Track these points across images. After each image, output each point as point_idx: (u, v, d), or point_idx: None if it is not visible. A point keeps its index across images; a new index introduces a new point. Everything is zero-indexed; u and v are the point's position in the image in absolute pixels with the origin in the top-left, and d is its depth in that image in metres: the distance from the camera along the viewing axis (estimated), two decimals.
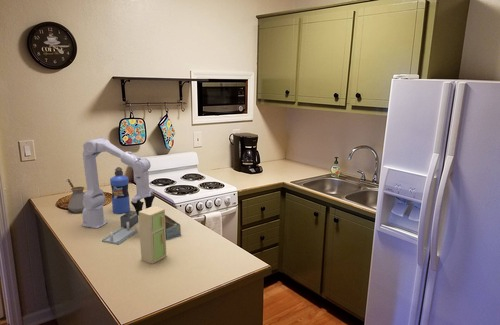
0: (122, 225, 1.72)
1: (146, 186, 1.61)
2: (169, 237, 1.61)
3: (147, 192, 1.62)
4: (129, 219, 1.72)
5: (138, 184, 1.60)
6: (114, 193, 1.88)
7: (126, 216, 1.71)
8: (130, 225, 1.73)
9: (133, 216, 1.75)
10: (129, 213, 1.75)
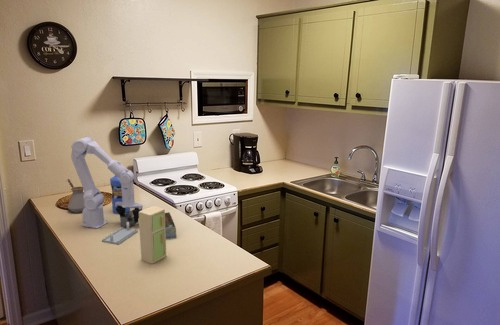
0: (122, 225, 1.72)
1: (123, 197, 1.70)
2: None
3: (124, 203, 1.71)
4: (129, 219, 1.72)
5: (125, 195, 1.69)
6: (114, 193, 1.88)
7: (126, 216, 1.71)
8: (130, 225, 1.73)
9: (133, 216, 1.75)
10: (129, 213, 1.75)
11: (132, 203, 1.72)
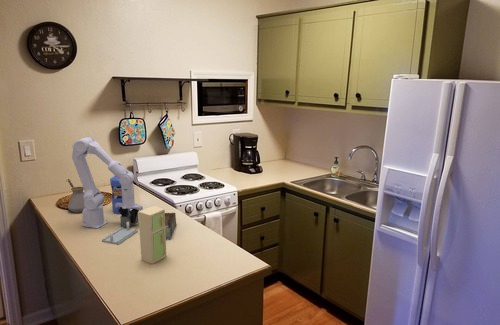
0: (122, 225, 1.72)
1: (123, 198, 1.70)
2: None
3: (124, 204, 1.71)
4: (129, 218, 1.72)
5: (125, 196, 1.69)
6: (114, 193, 1.88)
7: (126, 216, 1.71)
8: (130, 225, 1.73)
9: None
10: (129, 213, 1.75)
11: (132, 204, 1.72)
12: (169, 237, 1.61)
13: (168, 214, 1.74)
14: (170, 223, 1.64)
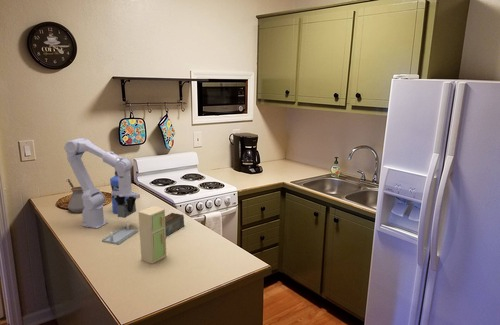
0: (119, 213, 1.67)
1: (119, 185, 1.65)
2: None
3: (120, 192, 1.66)
4: (126, 207, 1.67)
5: (121, 183, 1.65)
6: None
7: (123, 204, 1.66)
8: (127, 214, 1.68)
9: None
10: (126, 201, 1.70)
11: (129, 192, 1.67)
12: None
13: (175, 215, 1.73)
14: (165, 224, 1.63)
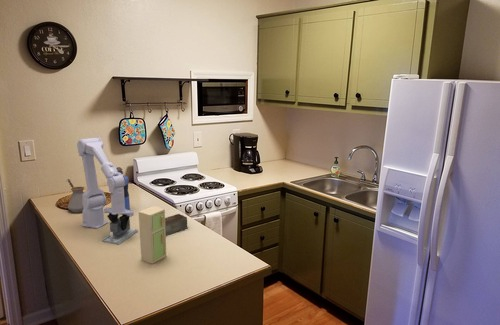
0: None
1: (112, 203, 1.56)
2: None
3: (113, 209, 1.57)
4: (120, 225, 1.58)
5: (111, 200, 1.56)
6: None
7: (116, 222, 1.58)
8: (120, 232, 1.59)
9: None
10: None
11: (122, 209, 1.58)
12: None
13: (178, 216, 1.72)
14: None
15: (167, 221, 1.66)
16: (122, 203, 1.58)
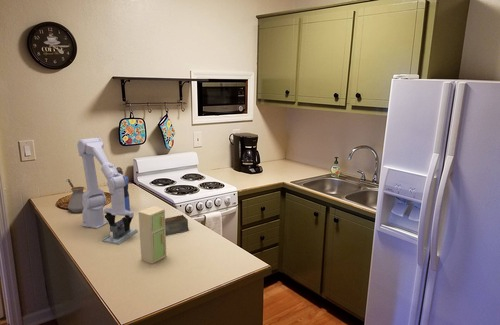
0: None
1: (112, 203, 1.57)
2: None
3: (113, 210, 1.57)
4: (120, 228, 1.59)
5: (111, 201, 1.57)
6: None
7: (116, 225, 1.58)
8: (121, 235, 1.60)
9: None
10: (120, 222, 1.62)
11: (122, 210, 1.58)
12: None
13: (179, 218, 1.70)
14: None
15: (166, 221, 1.66)
16: (122, 204, 1.58)
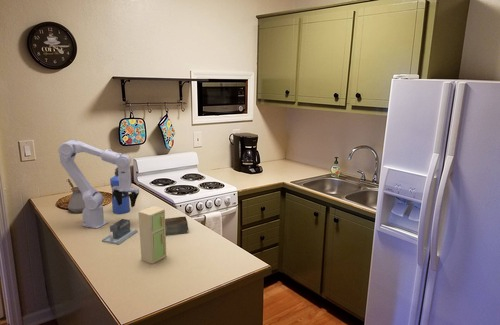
0: None
1: (119, 180, 1.70)
2: None
3: (120, 187, 1.70)
4: (120, 228, 1.59)
5: (122, 178, 1.69)
6: None
7: (116, 225, 1.58)
8: (121, 235, 1.60)
9: (124, 225, 1.61)
10: (120, 222, 1.62)
11: (129, 187, 1.71)
12: None
13: (180, 219, 1.68)
14: None
15: (166, 222, 1.66)
16: (129, 181, 1.71)
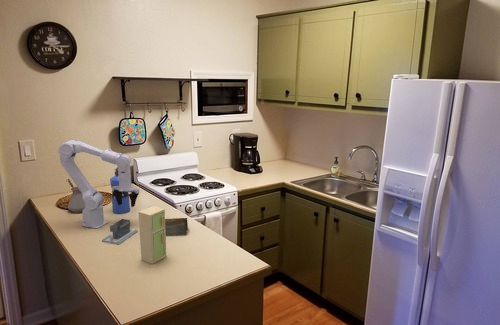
0: None
1: (119, 180, 1.70)
2: None
3: (120, 186, 1.70)
4: (120, 228, 1.59)
5: (122, 178, 1.69)
6: None
7: (116, 225, 1.58)
8: (121, 235, 1.60)
9: (124, 225, 1.61)
10: (120, 222, 1.62)
11: (129, 187, 1.71)
12: None
13: (180, 220, 1.67)
14: None
15: (165, 222, 1.65)
16: (129, 181, 1.71)
